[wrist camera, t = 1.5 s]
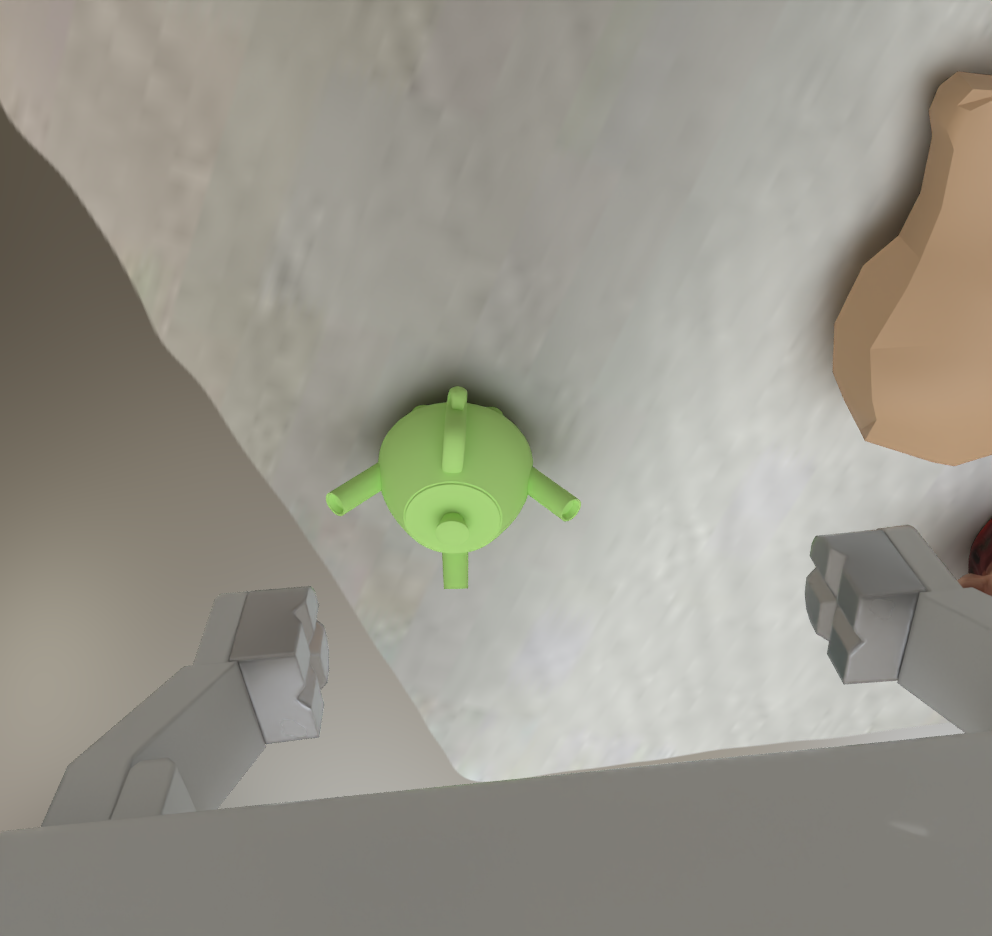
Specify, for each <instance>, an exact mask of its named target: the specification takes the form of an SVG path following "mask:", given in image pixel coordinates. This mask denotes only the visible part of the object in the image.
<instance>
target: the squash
mask: <svg viewBox="0 0 992 936" xmlns="http://www.w3.org/2000/svg"><path fill="white" fill-rule="evenodd" d="M929 117H930V124H931V131H932V139H931V144H930V148H929V153H928V158H927V163H926V168H925V173H924V178H923V183H922V187H921V192H920V194H919V196H918V198H917V200H916V202H915V204H914V206H913V208H912V210H911V212H910V214H909V216H908V218H907V220H906V222H905V224H904V226H903V228H902V230H901V232H900V234H899V235H898V236H897V237H896V238H895V239H894V240H892V241H891V242H890V243H889V244H888V245H886V246H885V247H884V248H883V249H882V250H881V251H879V252H878V253H877V254H876V255H875V256H873V257H872V258H871V259H870V260H869V261H867V262H866V263H865V264H864V265H863V266H862V268H861V271H860V273H859V275H858V277H857V279H856V281H855V283H854V285H853V287H852V289H851V291H850V293H849V295H848V297H847V299H846V301H845V303H844V305H843V307H842V309H841V311H840V313H839V315H838V318H837V320H836V322H835V324H834V348H833V374H834V377H835V379H836V381H837V384H838V386H839V389H840V391H841V393H842V396H843V398H844V401H845V403H846V405H847V407H848V409H849V410H850V412H851V414H852V416H853V418H854V420H855V422H856V424H857V426H858V428H859V430H860V432H861V434H862V436H863V438H864V440H865V441H867V442H871V443H874V444H877V445H880V446H883V447H886V448H890V449H893V450H896V451H899V452H902V453H905V454H909V455H912V456H915V457H918V458H921V459H924V460H928V461H931V462H935V463H940V464H945V465H951V466H957V465H960V464H963V463H966V462H970V461H973V460H976V459H979V458H982V457H986V456H989V455H992V75H985V74H976V73H967V72H958V71H957V72H956V73H955V74H954V75H952V76H951V77H950V78H948V79H947V80H946V81H945V82H943V83H942V84H941V85H940V86H939V88H938V90H937V92H936V94H935V97H934V99H933V102H932V104H931V106H930V108H929Z"/></svg>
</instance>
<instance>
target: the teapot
mask: <svg viewBox="0 0 992 936" xmlns="http://www.w3.org/2000/svg"><path fill="white" fill-rule="evenodd" d="M380 491H382V494H383V497H384V500H385V502H386V504H387V506H388V508H389V510H390V512H391V513H392V515H393V516H394V518H395V519H396V521H397V522H398V523H399V524H400V526H401V527H402V528H403V529H404V530H405V531H406V532H407V533H408V534H409V535H410V536H411V537H412V538H413V539H414V540H416V541H417V542H418V543H420V544H421V545H423V546H425V547H427V548H429V549H431V550H434V551H438V552H442V559H443V579H444V589H463V588H468V552H471V551H474V550H477V549H480V548H482V547H484V546H485V545H487V544H489V543H490V542H492V541H493V540H494V539H496V538H497V537H498V536H499V535H500V534H501V533H502V532H503V531H504V530H505V529H506V528H507V527H508V526H509V525H510V524H511V523H512V522H513V521H514V520H515V518H516V517H517V516H518V514H519V513H520V511H521V509H522V507H523V505H524V503H525V501H526V499H527V496H528V495H530V496H531V497H532V498H534V499H535V500H536V501H538V502H539V503H540V504H542V505H543V506H544V507H546V508H547V509H548V510H550V511H551V512H552V513H554V514H555V515H556V516H558V517H559V518H560V519H562V520H563V521H569V520H571V519H573V518H574V517H575V516H576V515H577V513H578V512H579V510H580V507H581V502H580V500H579V499H577V498H576V497H574V496H573V495H572V494H570V493H569V492H567V491H566V490H565V489H563V488H562V487H560V486H559V485H558V484H556V483H555V482H553V481H552V480H551V479H549V478H548V477H546V476H545V475H544V474H542V473H541V472H539V471H538V470H537V469H535V468H534V467H533V459H532V453H531V450H530V447H529V444H528V443H527V441H526V439H525V437H524V436H523V434H522V433H521V432H520V430H519V429H518V428H517V427H516V426H515V425H514V424H513V423H512V422H511V421H510V420H508V419H507V418H506V417H504V416H503V413H502V412H501V411H500V410H499V409H498V408H495V407H483V406H480V405H476V404H471V403H467V390H466V389H464V388H462V387H459V386H456V387H452V388H451V389H450V390H449V393H448V398H447V402H444V403H437V404H432V405H419V406H417V407H415V408H414V409H413V410H412V412H411V413H409V414H407V415H406V416H404V417H403V418H401V419H400V420H399V421H398V422H397V423H396V424H395V425H394V426H393V427H392V428H391V429H390V431H389V432H388V433H387V435H386V437H385V438H384V440H383V442H382V445H381V448H380V452H379V459H378V463H376V464H375V465H373V466H371V467H370V468H368V469H367V470H365V471H363V472H362V473H360V474H359V475H357V476H355V477H354V478H352V479H351V480H349V481H347V482H346V483H344V484H342V485H341V486H339V487H338V488H336V489H334V490H333V491H331V492H330V493H328V494H327V495H326V502H327V504H328V506H329V508H330V509H331V511H332V512H333V513H335V514H336V515H338V516H342V515H344V514H346V513H347V512H349V511H350V510H352V509H353V508H355V507H356V506H358V505H359V504H361V503H363V502H364V501H366V500H367V499H369V498H370V497H372V496H373V495H375V494H377V493H378V492H380Z"/></svg>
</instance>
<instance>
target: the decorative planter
mask: <svg viewBox="0 0 992 936" xmlns="http://www.w3.org/2000/svg"><path fill="white" fill-rule="evenodd" d="M957 581H958V582H959V584H960V585H961V586H962V587H963V588H970V587H973V588H975V589H977V590H979V591H981V592H983V593H985V594H987V595H990V596H992V518H991V519H990V520H989V521H988V522H987V524H986V525H985V526H984V527H983V529H982V530H981V531H980V532H979V534H978V535H977V537H976V538H975V540H974V542H973V544H972V547H971V551H970V555H969V574H966V575H964V576H962V577H961V578H960V579H958V580H957Z"/></svg>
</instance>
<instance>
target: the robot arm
mask: <svg viewBox="0 0 992 936" xmlns="http://www.w3.org/2000/svg"><path fill="white" fill-rule="evenodd" d="M810 557H811V559H812V561H813V562H814V564H815V566H816V568H815V569H814V570H813V571H812V572H811V573H810V574H809V575H808V576H807V577H806V586H805V600H806V609H807V613H808V616H809V619H810V622H811V624H812V626H813V628H814V630H815V632H816V634H818V635H819V636H821V637H823V638H824V639H826V640H828V641H829V645H828V651H827V655H828V656H829V658H830V660H831V662H832V664H833V666H834V667H835V669H836V671H837V673H838V675H839V677H840V678H841V680H842V682H843V684H856V683H869V682H883V681H896V680H898V682H897V683H898V684H900V685H901V686H902V687H904V688H905V689H906V690H908V691H909V692H910V693H912V694H913V695H915V696H916V697H917V698H919V699H920V700H921V701H923V702H924V703H925V704H927V705H928V706H929V707H931V708H932V709H933V710H935V711H936V712H938V713H939V714H940V715H942V716H943V717H944V718H946V719H947V720H948V721H950V722H951V723H952V724H954V725H955V726H957V727H958V728H959V729H961V730H962V731H963V732H965V733H964V734H954V735H946V736H935V737H926V738H916V739H907V740H897V741H888V742H878V743H869V744H858V745H848V746H839V747H828V748H818V749H808V750H798V751H788V752H779V753H768V754H758V755H748V756H738V757H729V758H718V759H708V760H699V761H688V762H678V763H668V764H659V765H649V766H639V767H630V768H619V769H610V770H601V771H590V772H580V773H571V774H561V775H551V776H541V777H532V778H522V779H512V780H502V781H493V782H483V783H473V784H464V785H454V786H443V787H434V788H423V789H413V790H404V791H394V792H384V793H374V794H364V795H354V796H344V797H335V798H324V799H315V800H305V801H295V802H285V803H275V804H265V805H255V806H245V807H235V808H225V809H218V808H219V806H220V805H221V804H222V802H223V801H224V800H225V799H226V797H227V796H228V795H229V794H230V792H231V791H232V790H233V788H234V787H235V786H236V785H237V783H238V782H239V781H240V779H241V778H242V777H243V776H244V775H245V773H246V772H247V771H248V769H249V768H250V767H251V766H252V764H253V763H254V762H255V761H256V759H257V758H258V756H259V755H260V754H261V753H262V752H263V750H264V749H265V748H266V745H265V744H270V743H277V742H286V741H293V740H302V739H309V738H317V737H319V735H320V729H321V721H322V715H323V708H324V702H323V698H322V694H321V689H322V688H323V687H324V686H325V685H326V683H327V681H328V672H329V649H328V641H327V635H326V631H325V627H324V625H323V624H321V623H320V622H319V621H317V613H318V608H319V604H318V600H317V597H316V593H315V590H314V589H313V588H312V587H311V586H308V587H294V588H282V589H269V590H255V591H251V592H237V593H224V594H220V595H219V596H218V597H217V598H216V599H215V600H214V603H213V606H212V609H211V612H210V615H209V618H208V621H207V624H206V627H205V630H204V633H203V636H202V639H201V642H200V645H199V648H198V651H197V654H196V657H195V660H194V663H193V665H192V666H184V667H183V668H181V669H180V670H179V671H178V672H177V673H176V674H174V676H172V677H171V678H170V679H169V680H167V681H166V682H165V683H164V684H163V685H162V686H160V687H159V688H158V689H157V690H156V691H155V692H153V693H152V694H151V695H150V696H149V697H147V698H146V699H145V700H144V701H143V702H142V703H141V704H139V705H138V706H137V707H136V708H135V709H133V710H132V712H130V713H129V714H128V715H126V716H125V717H124V718H123V719H122V720H121V721H120V722H118V723H117V724H116V725H115V726H114V727H112V728H111V729H110V730H109V731H108V732H107V733H105V734H104V735H103V736H102V737H101V738H100V739H98V740H97V741H96V742H95V743H94V744H92V745H91V746H90V747H89V748H88V749H87V750H85V751H84V752H83V753H82V754H81V755H80V756H78V757H77V758H76V759H75V760H74V761H73V762H71V763H70V764H69V765H68V766H67V769H66V771H65V773H64V775H63V778H62V780H61V782H60V785H59V787H58V789H57V792H56V793H55V796H54V798H53V800H52V803H51V805H50V807H49V809H48V812H47V814H46V816H45V819H44V820H43V823H42V825H41V827H38V828H27V829H17V830H7V831H0V936H992V596H990V595H987V594H985V593H983V592H981V591H979V590H977V589H975V588H973V587H970V588H963V587H962V586H961V585H960V584H959V582H958V581H957V580H956V579H955V577H954V576H953V575H952V574H951V572H950V571H949V570H948V569H947V567H946V566H945V565H944V564H943V562H942V561H941V560H940V559H939V557H938V556H937V555H936V554H935V552H934V551H933V550H932V549H931V548H930V546H929V545H928V544H927V543H926V541H925V540H924V539H923V538H922V536H921V535H920V534H919V533H918V531H917V530H916V529H915V528H914V527H912V526H910V525H903V526H895V527H887V528H879V529H877V530H867V531H858V532H848V533H839V534H830V535H820V536H815V538H814V540H813V542H812V545H811V551H810Z"/></svg>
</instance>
